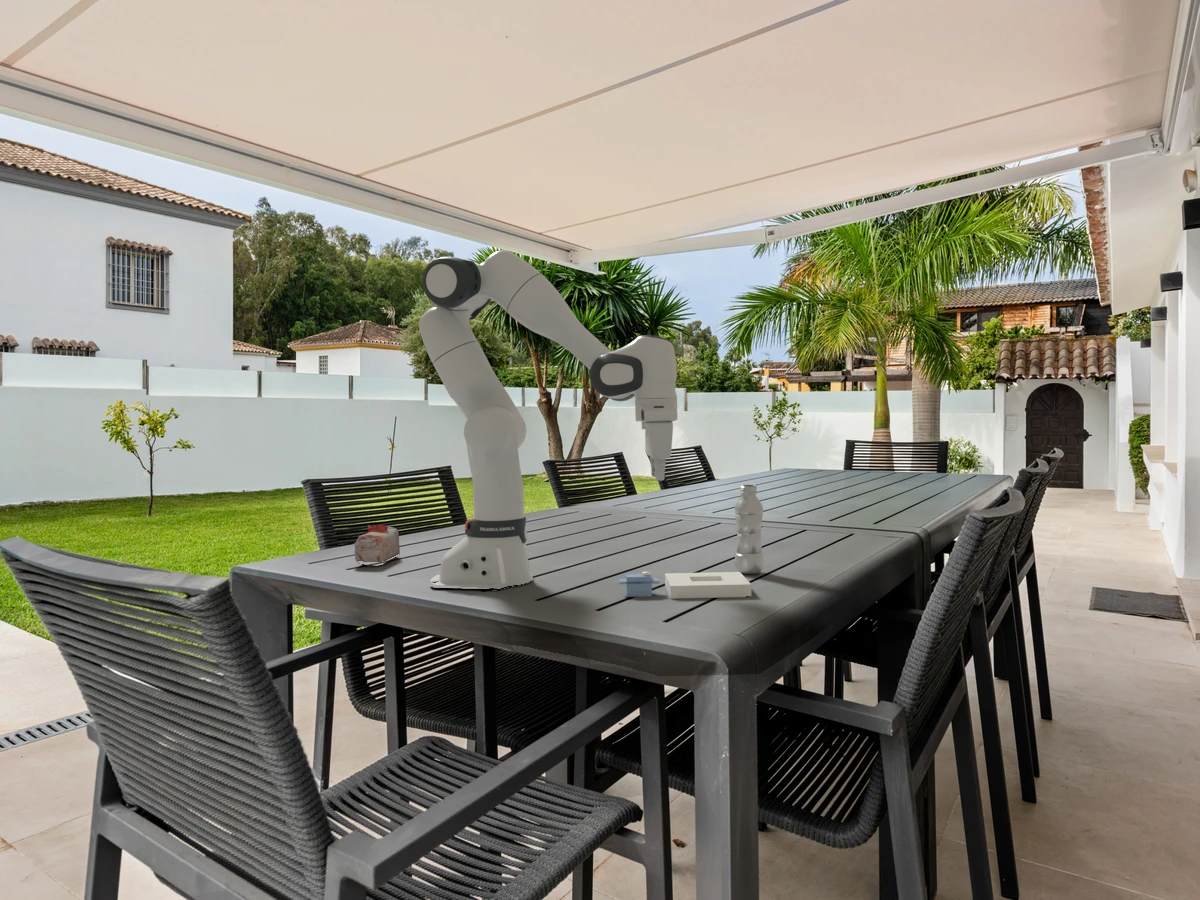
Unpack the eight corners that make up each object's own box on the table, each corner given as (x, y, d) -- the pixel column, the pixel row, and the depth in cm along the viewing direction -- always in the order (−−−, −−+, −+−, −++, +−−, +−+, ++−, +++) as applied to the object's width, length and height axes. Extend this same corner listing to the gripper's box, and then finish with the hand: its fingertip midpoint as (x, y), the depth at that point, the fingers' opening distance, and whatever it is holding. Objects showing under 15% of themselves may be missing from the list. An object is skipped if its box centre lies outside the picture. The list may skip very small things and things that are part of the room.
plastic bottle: (729, 574, 171) (727, 486, 170) (745, 569, 176) (744, 483, 175) (753, 577, 167) (752, 487, 166) (769, 572, 172) (768, 485, 171)
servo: (619, 597, 152) (619, 574, 152) (619, 593, 155) (618, 571, 155) (659, 596, 152) (658, 573, 152) (658, 592, 155) (657, 570, 155)
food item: (383, 568, 187) (382, 528, 187) (352, 568, 188) (351, 528, 187) (402, 557, 201) (401, 520, 200) (373, 557, 201) (372, 521, 201)
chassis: (670, 598, 149) (670, 586, 149) (665, 585, 161) (664, 573, 161) (751, 596, 149) (751, 584, 149) (740, 583, 161) (739, 571, 161)
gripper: (638, 413, 169) (639, 475, 170) (644, 412, 149) (646, 482, 150) (666, 412, 169) (667, 474, 170) (676, 412, 149) (678, 482, 150)
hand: (657, 478), depth 160 cm, fingers open, 8 cm apart
